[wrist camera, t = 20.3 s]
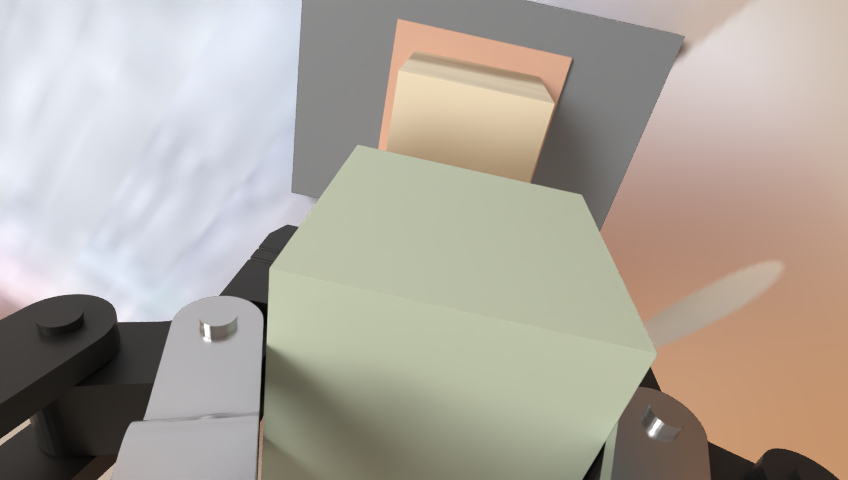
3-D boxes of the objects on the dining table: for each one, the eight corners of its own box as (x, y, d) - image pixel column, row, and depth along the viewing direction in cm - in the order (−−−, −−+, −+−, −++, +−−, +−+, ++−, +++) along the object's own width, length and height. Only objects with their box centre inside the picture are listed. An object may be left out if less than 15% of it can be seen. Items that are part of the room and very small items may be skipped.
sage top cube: (357, 144, 10) (269, 268, 6) (582, 194, 10) (657, 354, 6) (334, 320, 13) (260, 498, 8) (515, 360, 13) (534, 557, 8)
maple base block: (415, 50, 21) (398, 70, 16) (538, 76, 21) (554, 103, 16) (396, 166, 23) (377, 210, 19) (505, 190, 23) (511, 239, 19)
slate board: (312, -48, 20) (303, -49, 19) (676, 33, 20) (686, 37, 19) (297, 184, 26) (290, 193, 25) (584, 248, 26) (588, 259, 25)
